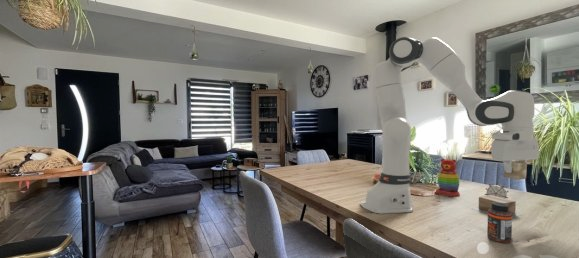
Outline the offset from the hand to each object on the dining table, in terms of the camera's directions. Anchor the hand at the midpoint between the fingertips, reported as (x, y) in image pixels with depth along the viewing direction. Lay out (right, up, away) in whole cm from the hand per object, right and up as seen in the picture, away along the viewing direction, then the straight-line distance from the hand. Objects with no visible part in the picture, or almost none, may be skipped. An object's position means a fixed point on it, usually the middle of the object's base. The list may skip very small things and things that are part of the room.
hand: (514, 172), depth 96 cm
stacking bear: (-3, -17, +36) cm, 40 cm away
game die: (+11, -18, +22) cm, 30 cm away
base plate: (-2, -18, +6) cm, 19 cm away
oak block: (0, -2, 0) cm, 2 cm away
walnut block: (-2, -17, +6) cm, 18 cm away
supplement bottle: (-18, -19, -15) cm, 30 cm away
